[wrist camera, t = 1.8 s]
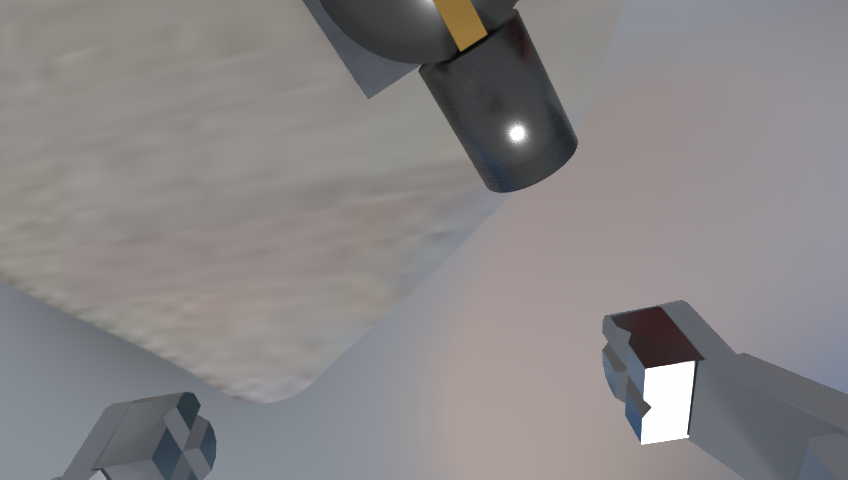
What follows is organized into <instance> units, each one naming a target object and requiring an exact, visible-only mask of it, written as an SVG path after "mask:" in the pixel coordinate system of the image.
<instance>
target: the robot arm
mask: <svg viewBox="0 0 848 480" xmlns="http://www.w3.org/2000/svg"><path fill="white" fill-rule="evenodd" d="M602 332H603V334H604V336H605V337H606V339H607V340H608V343H607V345H606V346H605V347H604V349H603V350H602V352H603V353H602V354H603V367H604V371H605V376H606V379H607V381H608V384H609V387H610V389H611V390H612V392H613V394H614V396H615V397H616V398H617V399H619V400H621V401H622V402H624V403H626V409H625V410H626V411H625V416H626V418H627V419H628V421H629V423H630V425H631V426H632V428H633V430H634V432H635V433H636V435H637V437H638V439H639V441H640V442H641V444H645V443H652V442H659V441H665V440H672V439H679V438H685V437H688V439H689V440H690V441H691V442H693V443H694V444H696V445H697V446H699V447H700V448H702V449H703V450H705V451H706V452H707V453H709V454H710V455H712V456H713V457H714V458H716V459H717V460H719V461H720V462H721V463H723V464H724V465H726V466H727V467H729V468H730V469H732V470H733V471H734V472H736V473H737V474H739V475H740V476H742V477H743V478H744V479H746V480H848V395H847V394H845V393H842V392H840V391H837V390H835V389H832V388H830V387H827V386H825V385H823V384H820V383H818V382H815V381H813V380H810V379H808V378H805V377H803V376H800V375H798V374H795V373H793V372H790V371H788V370H786V369H783V368H781V367H778V366H776V365H773V364H771V363H768V362H766V361H763V360H761V359H758V358H756V357H753V356H751V355H749V354H746V353H742V354H736V353H735V352H734V351H733V350H732V349H731V348H730V347H729V346H728V345H727V344H726V343H725V342H724V341H723V339H722V338H721V337H720V336H719V335H718V334H717V333H716V332H715V331H714V330H713V329H712V328H711V327H710V326H709V325H708V324H707V323H706V322H705V321H704V320H703V319H702V317H701V316H699V314H698V313H697V312H696V311H695V310H694V309H693V308H692V307H691V306H690V305H689V304H688V303H687V302H685V301H682V300H680V301H675V302H670V303H665V304H660V305H656V306H655V307H648V308H643V309H638V310H632V311H627V312H622V313H617V314H611V315H606V316H604V319H603V331H602ZM200 406H201V405H200V403H199V402H198V400H197V398H196V396H195V394H194V393H191V392H181V393H175V394H169V395H162V396H156V397H149V398H143V399H138V400H134V401H128V402H121V403H115V404H112V405H111V406H109V407H107V408H106V409H105V410H104V412H103V413H102V415H101V416H100V418H99V420H98V421H97V423H96V424H95V426H94V428H93V429H92V431H91V433H90V434H89V435H88V437H87V439H86V440H85V442H84V443H83V445H82V446H81V448H80V450H79V451H78V453H77V454H76V456H75V457H74V459H73V461H72V462H71V464H70V465H69V467H68V469H67V470H66V472H65V473H64V475H63V476H62V477H57V478H54V479H52V480H203V479H204V478H205V477H206V476H207V474H209V472H210V471H211V470H212V467H213V464H214V461H215V457H216V438H215V434H214V430H213V428H212V426H211V424H210V422H209V421H208V420H206V419H204V418H202V417H201V416H199V415H197V414H198V411H199V409H200Z"/></svg>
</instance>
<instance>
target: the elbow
mask: <svg viewBox="0 0 848 480" xmlns="http://www.w3.org/2000/svg"><path fill="white" fill-rule="evenodd" d="M319 1H320V3H321V5H322V6H323V8H324V10H325V11H326V12H327V14H328V15H329V16H330V18H331V19H332V21H333V22H334V23H335V24H336V25H337V26H338V27H339V28H340V29H341V30H342V31H343V33H344V34H346V35H347V36H348V37H349V38H350V39H352V40H353V41H354V42H355V43H357V44H358V45H360V46H361V47H363V48H365V49H366V50H368V51H370V52H372V53H374V54H376V55H378V56H380V57H383V58H386V59H389V60H392V61H396V62H402V63H408V64H422V65H421V67H420V68H419V73H420V75H421V77H422V78H423V80H424V82H425V83H426V85H427V87H428V89H429V90H430V92H431V94H432V95H433V97H434V99H435V100H436V102H437V104H438V105H439V107H440V109H441V110H442V112H443V114H444V116H445V117H446V119H447V121H448V122H449V124H450V126H451V127H452V129H453V131H454V132H455V134H456V136H457V138H458V139H459V141H460V143H461V144H462V146H463V148H464V149H465V151H466V153H467V154H468V156H469V158H470V159H471V161H472V163H473V165H474V166H475V168H476V170H477V171H478V173H479V175H480V176H481V178H482V180H483V181H484V183H485V185H486V187H487V188H488V189H489V190H491V191H493V192H498V193H505V192H513V191H517V190H520V189H523V188H526V187H529V186H531V185H533V184H536V183H538V182H540V181H542V180H543V179H545V178H547V177H548V176H550V175H552V174H553V173H554V172H556V171H557V170H558V169H560V168H561V167H562V166H563V165H564V164H565V163H566V162H567V161H568V160H569V159H570V158H571V156H572V155H573V154H574V152H575V150H576V148H577V144H578V140H577V137H576V135H575V133H574V131H573V128H572V126H571V124H570V122H569V120H568V118H567V116H566V113H565V111H564V109H563V107H562V105H561V103H560V100H559V98H558V96H557V94H556V92H555V90H554V88H553V85H552V83H551V81H550V79H549V77H548V75H547V72H546V70H545V68H544V66H543V64H542V62H541V60H540V57H539V55H538V53H537V51H536V49H535V47H534V45H533V42H532V40H531V38H530V36H529V34H528V32H527V29H526V27H525V25H524V23H523V21H522V19H521V17H520V14H519V12H518V10H517V9H513V7H514V5H515V4H516V2H517V0H319Z"/></svg>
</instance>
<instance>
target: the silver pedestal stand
mask: <svg viewBox="0 0 848 480" xmlns="http://www.w3.org/2000/svg"><path fill="white" fill-rule="evenodd" d="M303 1H304V3H305V4H306V6H307V7H308V9H309V10H310V12H311V13H312V15H313V16H314V18H315V19H316V21H317V22H318V24H319V25H320V27H321V28H322V30H323V31H324V33H325V34H326V36H327V37H328V39H329V40H330V42H331V43H332V45H333V47H334V48H335V50H336V51H337V53H338V54H339V56H340V57H341V59H342V60H343V62H344V63H345V65H346V66H347V68H348V69H349V71H350V72H351V74H352V75H353V77H354V78H355V80H356V81H357V83H358V84H359V86H360V87H361V89H362V90H363V92H364V93H365V95H366V96H367V98H368V99H370V98H371V97H373V96H374V95H376V94H377V93H379V92H380V91H382V90H383V89H385V88H386V87H388V86H389V85H391V84H392V83H394V82H395V81H397V80H398V79H400V78H402V77H403V76H405V75H406V74H408V73H409V72H411V71H412V70H414V69H415V68H417V67H418V66H420V65H421V64H408V63H402V62H396V61H392V60H389V59H386V58H383V57H380V56H378V55H376V54H374V53H372V52H370V51H368V50H366V49H365V48H363V47H361V46H360V45H358V44H357V43H355V42H354V41H353V40H352V39H350V38H349V37H348V36H347V35H346V34H344V33H343V31H342V30H341V29H340V28H339V27H338V26H337V25H336V24H335V23H334V22H333V21H332V19H331V18H330V16H329V15H328V14H327V12H326V11H325V10H324V8H323V6H322V5H321V3H320V1H319V0H303ZM517 1H519V0H517Z"/></svg>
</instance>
